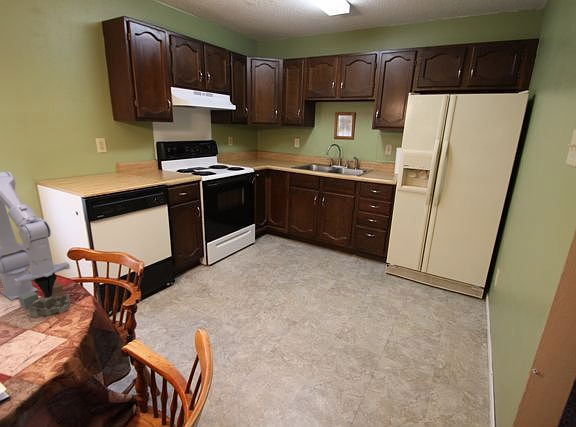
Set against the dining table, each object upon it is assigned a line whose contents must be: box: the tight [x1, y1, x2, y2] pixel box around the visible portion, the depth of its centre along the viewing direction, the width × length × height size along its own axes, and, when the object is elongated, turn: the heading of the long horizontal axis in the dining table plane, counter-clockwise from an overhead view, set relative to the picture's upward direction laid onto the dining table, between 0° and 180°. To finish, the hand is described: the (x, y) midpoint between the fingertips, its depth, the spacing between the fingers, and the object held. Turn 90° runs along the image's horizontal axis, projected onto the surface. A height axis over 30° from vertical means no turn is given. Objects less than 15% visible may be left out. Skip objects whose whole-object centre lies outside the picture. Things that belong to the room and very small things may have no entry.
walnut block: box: [50, 281, 65, 297], centre depth 112 cm, size 4×4×4 cm
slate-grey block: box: [18, 291, 40, 310], centre depth 106 cm, size 4×4×4 cm
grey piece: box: [27, 292, 71, 319], centre depth 103 cm, size 11×8×4 cm
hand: (48, 295), depth 102 cm, fingers closed
